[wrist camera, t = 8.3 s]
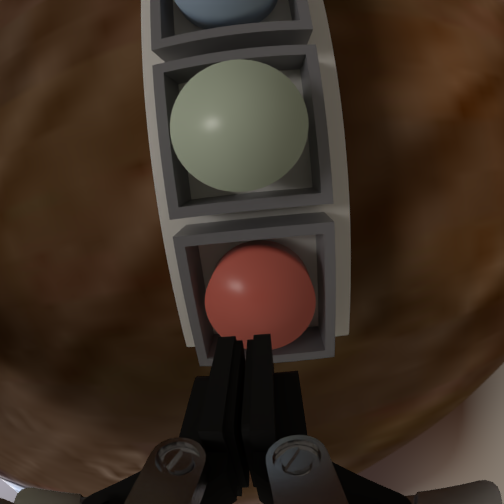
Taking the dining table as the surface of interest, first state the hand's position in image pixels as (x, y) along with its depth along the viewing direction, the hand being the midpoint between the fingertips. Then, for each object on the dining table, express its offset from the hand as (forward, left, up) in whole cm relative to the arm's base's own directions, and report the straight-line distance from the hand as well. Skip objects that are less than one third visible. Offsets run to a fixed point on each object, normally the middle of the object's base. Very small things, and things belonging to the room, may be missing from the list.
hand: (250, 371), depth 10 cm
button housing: (+7, +4, -11) cm, 13 cm away
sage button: (+7, +4, -5) cm, 10 cm away
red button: (0, 0, -7) cm, 7 cm away
